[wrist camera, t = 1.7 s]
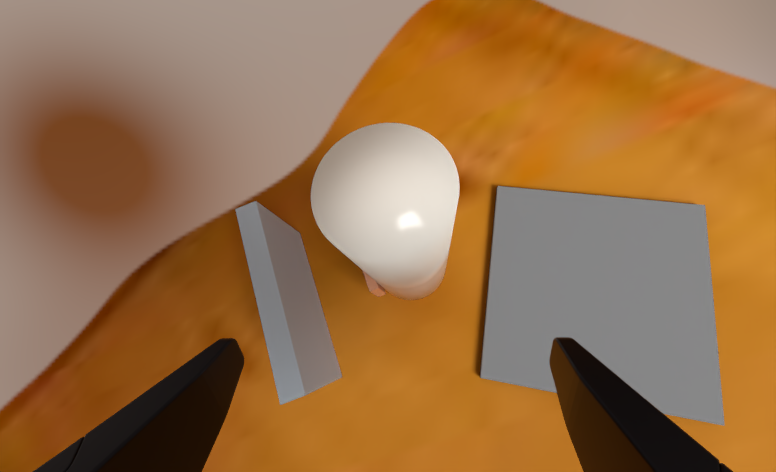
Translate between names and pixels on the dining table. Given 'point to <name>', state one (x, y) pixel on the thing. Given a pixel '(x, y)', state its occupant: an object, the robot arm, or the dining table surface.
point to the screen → (287, 304)
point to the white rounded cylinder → (389, 206)
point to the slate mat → (604, 295)
